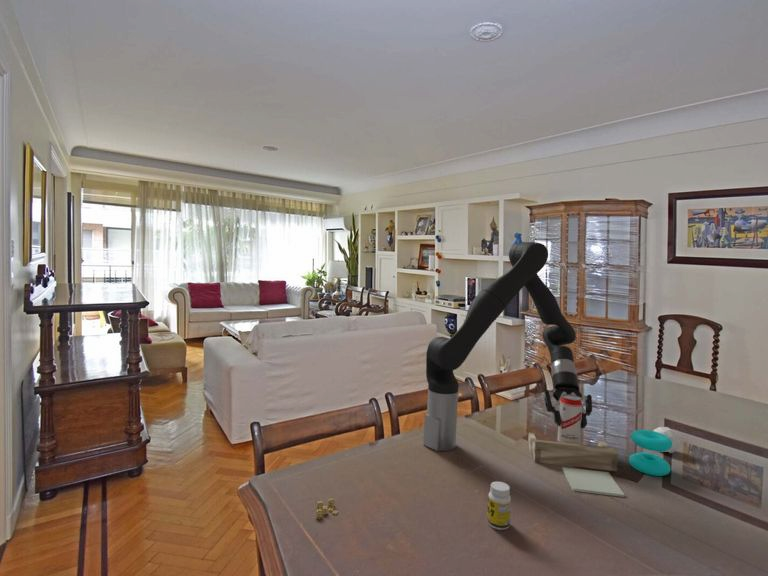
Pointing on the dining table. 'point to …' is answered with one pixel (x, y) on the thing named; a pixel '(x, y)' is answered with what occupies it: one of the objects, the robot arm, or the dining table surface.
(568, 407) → the beer can
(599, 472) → the sage tile
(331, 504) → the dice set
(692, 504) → the dining table surface
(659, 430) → the geometric ball
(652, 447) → the donuts
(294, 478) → the dining table surface
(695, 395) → the dining table surface
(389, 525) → the dining table surface
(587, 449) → the birch bay
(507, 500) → the supplement bottle
